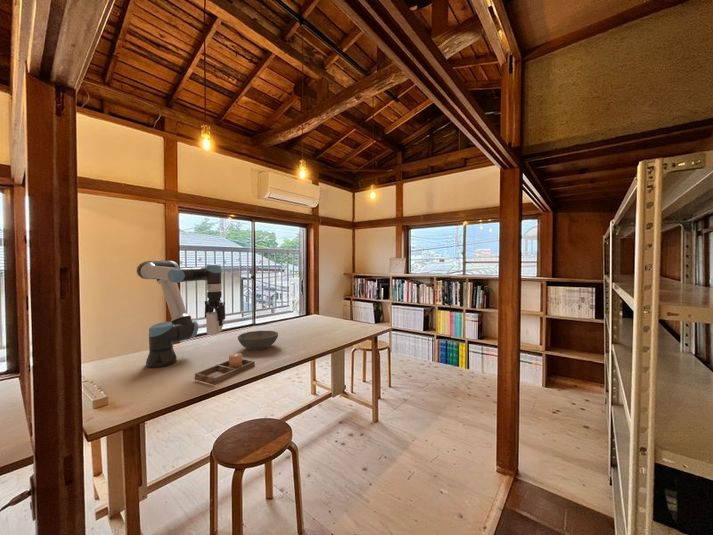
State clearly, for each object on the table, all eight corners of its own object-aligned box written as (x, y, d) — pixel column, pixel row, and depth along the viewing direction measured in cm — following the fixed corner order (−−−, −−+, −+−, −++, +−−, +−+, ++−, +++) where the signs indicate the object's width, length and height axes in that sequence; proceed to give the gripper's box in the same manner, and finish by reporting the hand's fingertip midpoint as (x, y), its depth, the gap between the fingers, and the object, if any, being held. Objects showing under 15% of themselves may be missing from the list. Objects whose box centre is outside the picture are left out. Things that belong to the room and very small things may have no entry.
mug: (208, 335, 164) (208, 314, 163) (204, 333, 168) (204, 312, 168) (226, 332, 171) (226, 312, 170) (222, 330, 176) (222, 310, 175)
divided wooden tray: (195, 379, 150) (195, 373, 150) (235, 362, 174) (235, 357, 174) (215, 384, 144) (215, 378, 144) (254, 366, 168) (254, 361, 168)
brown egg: (226, 368, 163) (226, 356, 163) (236, 364, 170) (236, 352, 169) (235, 370, 160) (235, 358, 160) (245, 366, 167) (245, 354, 167)
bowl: (230, 354, 189) (230, 339, 188) (247, 342, 215) (247, 328, 214) (271, 355, 188) (271, 339, 187) (283, 342, 214) (282, 329, 214)
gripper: (196, 291, 169) (197, 330, 170) (221, 292, 162) (222, 334, 162) (208, 289, 176) (208, 327, 177) (232, 291, 168) (232, 330, 169)
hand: (215, 330), depth 170 cm, fingers closed on mug, 6 cm apart
